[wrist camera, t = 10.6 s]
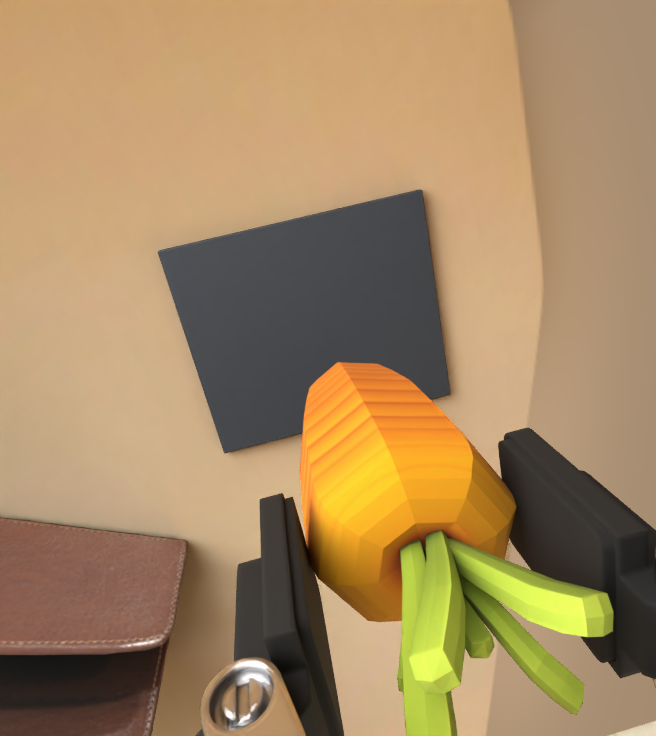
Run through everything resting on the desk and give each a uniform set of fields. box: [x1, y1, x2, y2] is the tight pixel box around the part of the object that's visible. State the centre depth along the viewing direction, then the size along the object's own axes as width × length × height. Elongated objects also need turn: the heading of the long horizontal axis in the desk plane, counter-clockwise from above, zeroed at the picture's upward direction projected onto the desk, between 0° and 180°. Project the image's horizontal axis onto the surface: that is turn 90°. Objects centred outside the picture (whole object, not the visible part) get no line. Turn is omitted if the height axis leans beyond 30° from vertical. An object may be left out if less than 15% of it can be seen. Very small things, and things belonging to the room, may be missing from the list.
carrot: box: [300, 362, 613, 736], centre depth 14 cm, size 5×5×15 cm
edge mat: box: [158, 190, 450, 453], centre depth 28 cm, size 14×12×1 cm
